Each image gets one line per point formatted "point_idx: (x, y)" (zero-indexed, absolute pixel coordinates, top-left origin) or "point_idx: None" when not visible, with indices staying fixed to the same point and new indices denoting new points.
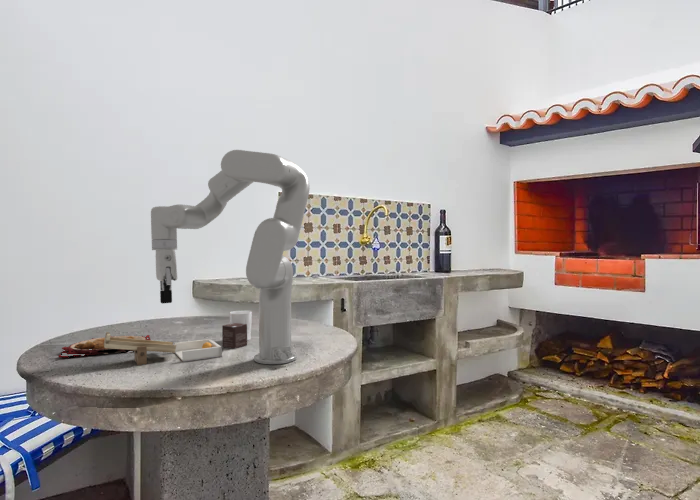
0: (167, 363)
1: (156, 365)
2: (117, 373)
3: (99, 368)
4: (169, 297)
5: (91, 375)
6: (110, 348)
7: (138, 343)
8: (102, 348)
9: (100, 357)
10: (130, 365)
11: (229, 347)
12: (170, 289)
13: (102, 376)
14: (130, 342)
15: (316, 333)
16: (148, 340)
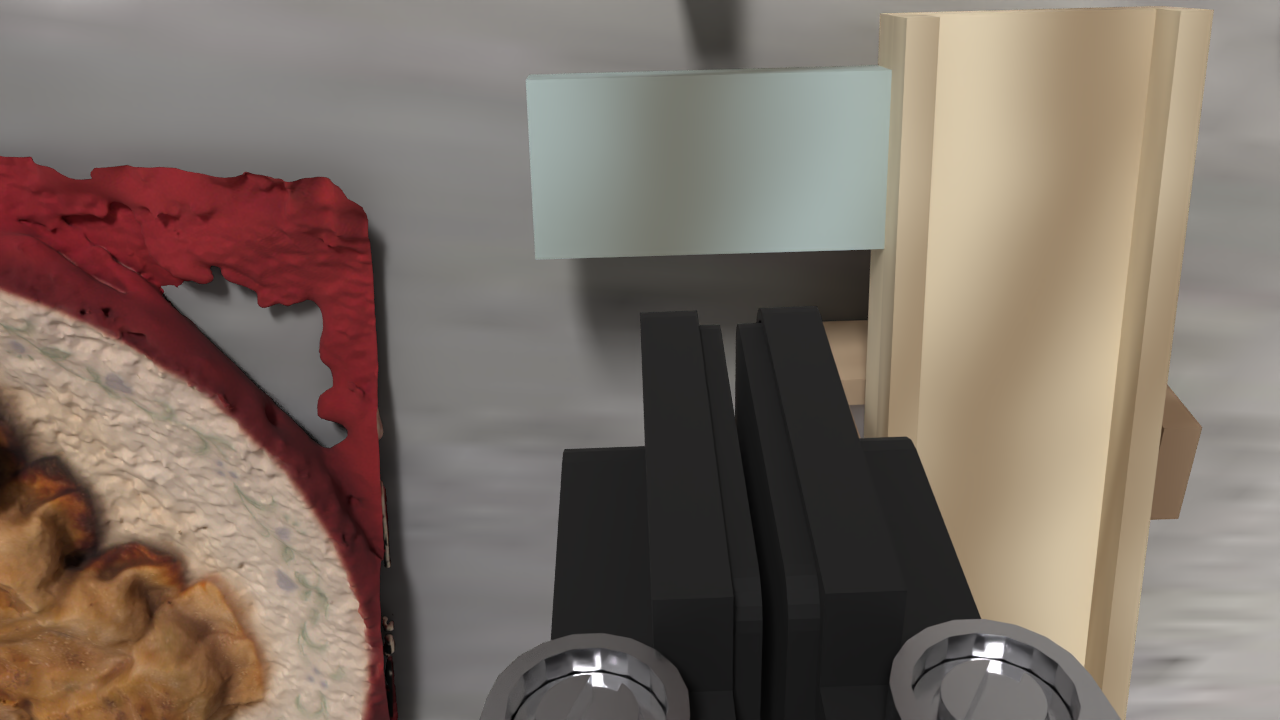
0: (1249, 100)
1: (1243, 225)
2: (1261, 556)
3: None
4: (926, 483)
5: (1160, 712)
6: (362, 636)
7: (1142, 528)
8: (222, 682)
9: (488, 664)
10: None
11: None
12: (1070, 689)
13: (1263, 650)
14: (1133, 621)
15: None
16: (918, 392)
